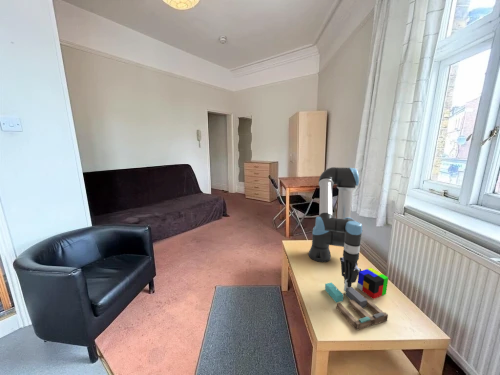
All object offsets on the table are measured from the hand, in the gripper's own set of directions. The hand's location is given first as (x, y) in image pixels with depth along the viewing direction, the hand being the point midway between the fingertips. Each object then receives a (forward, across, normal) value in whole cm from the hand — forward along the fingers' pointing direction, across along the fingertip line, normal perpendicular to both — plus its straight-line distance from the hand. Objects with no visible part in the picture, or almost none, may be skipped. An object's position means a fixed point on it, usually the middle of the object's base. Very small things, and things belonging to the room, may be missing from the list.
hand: (346, 290), depth 113 cm
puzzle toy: (+2, +2, +15) cm, 15 cm away
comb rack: (+2, +14, -4) cm, 14 cm away
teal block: (+2, -1, -8) cm, 8 cm away
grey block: (+2, +6, 0) cm, 6 cm away
